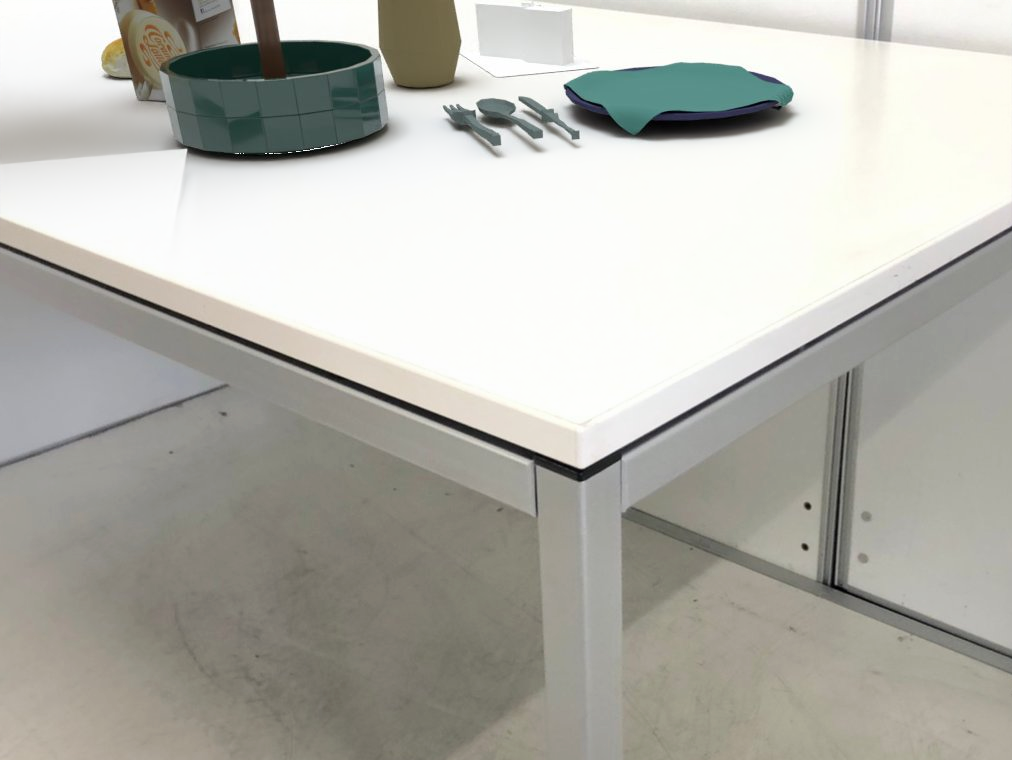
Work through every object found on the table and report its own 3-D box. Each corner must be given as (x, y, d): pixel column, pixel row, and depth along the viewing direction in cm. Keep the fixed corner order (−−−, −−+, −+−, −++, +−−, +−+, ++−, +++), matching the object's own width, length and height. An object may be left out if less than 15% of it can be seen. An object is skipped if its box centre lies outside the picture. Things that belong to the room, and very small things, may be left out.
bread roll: (199, 61, 122) (191, 22, 120) (173, 78, 114) (165, 37, 112) (123, 63, 122) (114, 24, 120) (92, 80, 114) (82, 39, 112)
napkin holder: (456, 52, 125) (451, -3, 122) (551, 44, 128) (549, -10, 126) (497, 77, 113) (492, 17, 110) (600, 67, 117) (598, 8, 114)
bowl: (171, 169, 85) (152, 88, 82) (181, 118, 100) (166, 47, 97) (399, 149, 90) (389, 71, 87) (378, 102, 104) (369, 34, 101)
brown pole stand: (251, 135, 92) (210, -82, 83) (251, 120, 96) (212, -87, 88) (316, 130, 93) (282, -84, 85) (313, 116, 97) (280, -89, 89)
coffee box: (254, 91, 109) (219, -93, 101) (214, 105, 104) (174, -87, 95) (174, 86, 111) (134, -94, 103) (132, 100, 106) (86, -89, 98)
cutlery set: (829, 122, 95) (832, 94, 94) (493, 163, 86) (490, 133, 84) (725, 78, 111) (726, 54, 110) (431, 109, 101) (428, 82, 100)
